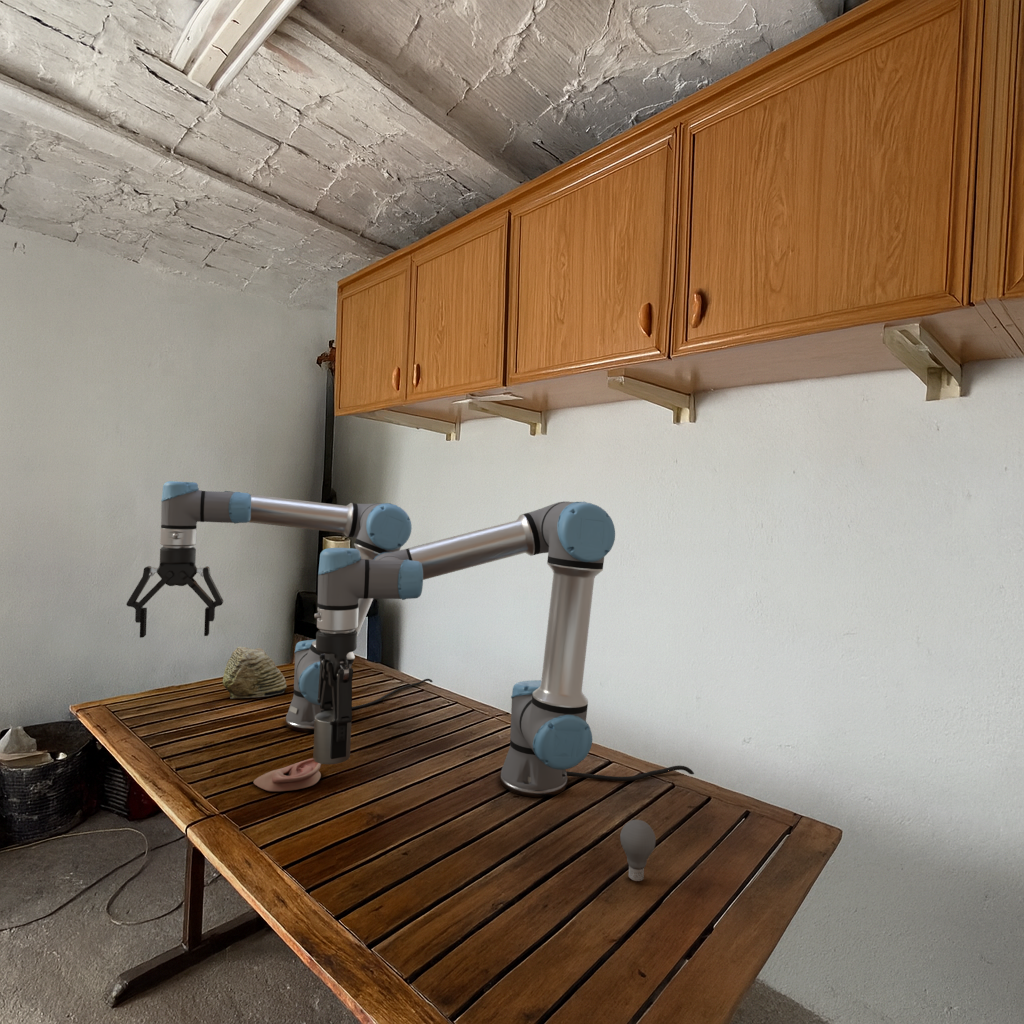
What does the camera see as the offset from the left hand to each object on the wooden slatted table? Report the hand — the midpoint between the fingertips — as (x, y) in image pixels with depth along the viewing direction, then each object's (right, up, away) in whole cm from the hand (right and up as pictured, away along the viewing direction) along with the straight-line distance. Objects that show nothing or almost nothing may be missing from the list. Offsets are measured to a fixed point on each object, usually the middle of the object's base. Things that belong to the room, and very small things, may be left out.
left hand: (175, 635), depth 150 cm
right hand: (+46, -16, -30) cm, 57 cm away
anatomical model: (+30, -30, -10) cm, 44 cm away
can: (+46, -17, -30) cm, 57 cm away
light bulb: (+101, -34, -42) cm, 115 cm away
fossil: (-1, -28, +48) cm, 55 cm away
